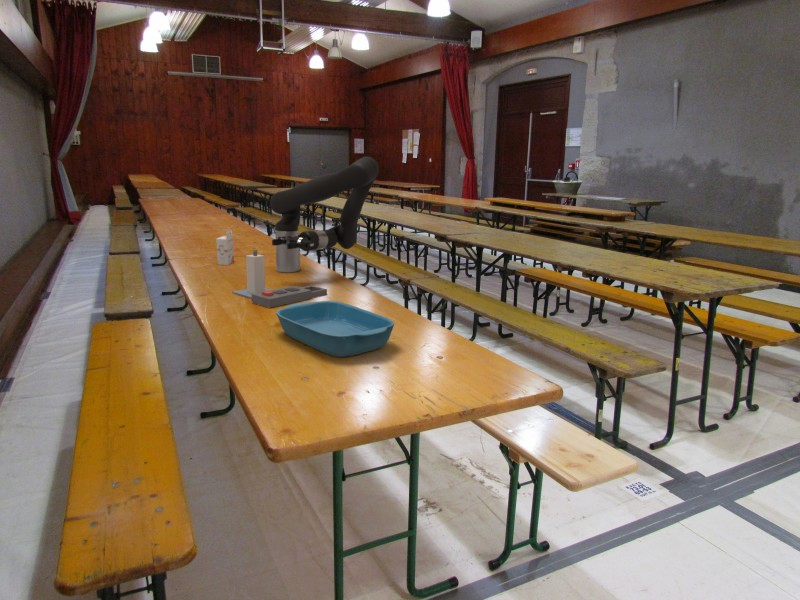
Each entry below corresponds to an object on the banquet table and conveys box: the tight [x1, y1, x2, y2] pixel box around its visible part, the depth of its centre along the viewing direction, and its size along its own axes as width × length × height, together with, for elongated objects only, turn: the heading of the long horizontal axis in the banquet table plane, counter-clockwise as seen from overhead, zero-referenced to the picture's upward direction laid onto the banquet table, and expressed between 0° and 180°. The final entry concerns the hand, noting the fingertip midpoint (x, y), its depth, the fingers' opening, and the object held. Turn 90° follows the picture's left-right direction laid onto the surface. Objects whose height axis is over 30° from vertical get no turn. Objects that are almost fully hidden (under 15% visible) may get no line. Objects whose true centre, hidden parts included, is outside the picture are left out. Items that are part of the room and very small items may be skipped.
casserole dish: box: [276, 300, 395, 358], centre depth 154 cm, size 37×22×7 cm, turn 42°
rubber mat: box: [231, 287, 272, 299], centre depth 201 cm, size 12×12×1 cm
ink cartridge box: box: [215, 229, 235, 266], centre depth 250 cm, size 9×5×15 cm, turn 179°
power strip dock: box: [251, 285, 328, 309], centre depth 195 cm, size 26×9×4 cm, turn 141°
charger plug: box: [245, 249, 266, 294], centre depth 199 cm, size 4×4×15 cm
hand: (280, 244), depth 205 cm, fingers open, 8 cm apart
